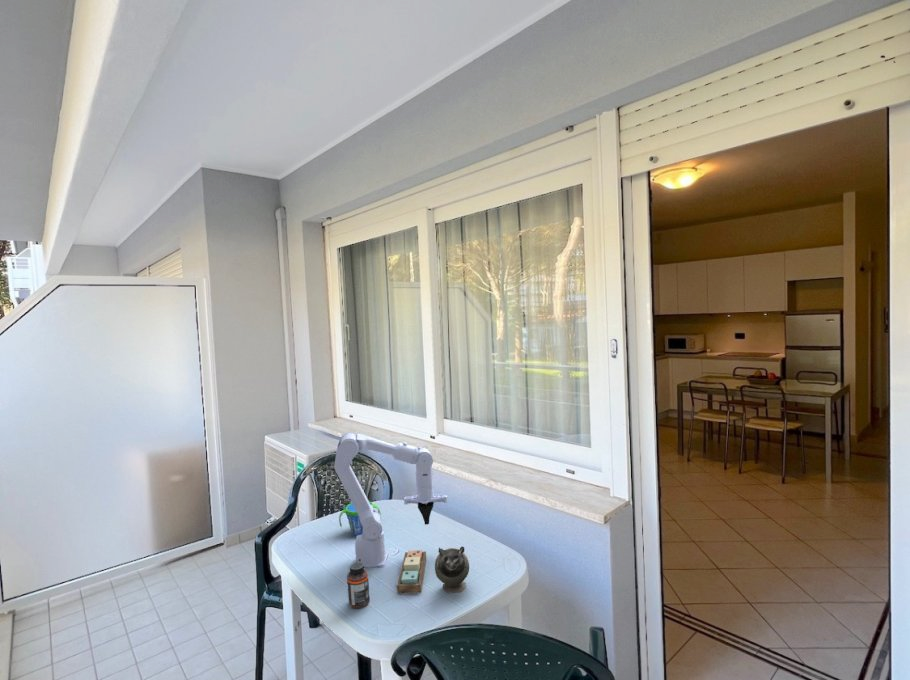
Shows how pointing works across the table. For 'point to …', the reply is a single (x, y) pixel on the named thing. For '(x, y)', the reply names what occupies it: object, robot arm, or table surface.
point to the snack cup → (354, 518)
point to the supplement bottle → (358, 585)
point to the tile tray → (412, 587)
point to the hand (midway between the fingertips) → (427, 523)
